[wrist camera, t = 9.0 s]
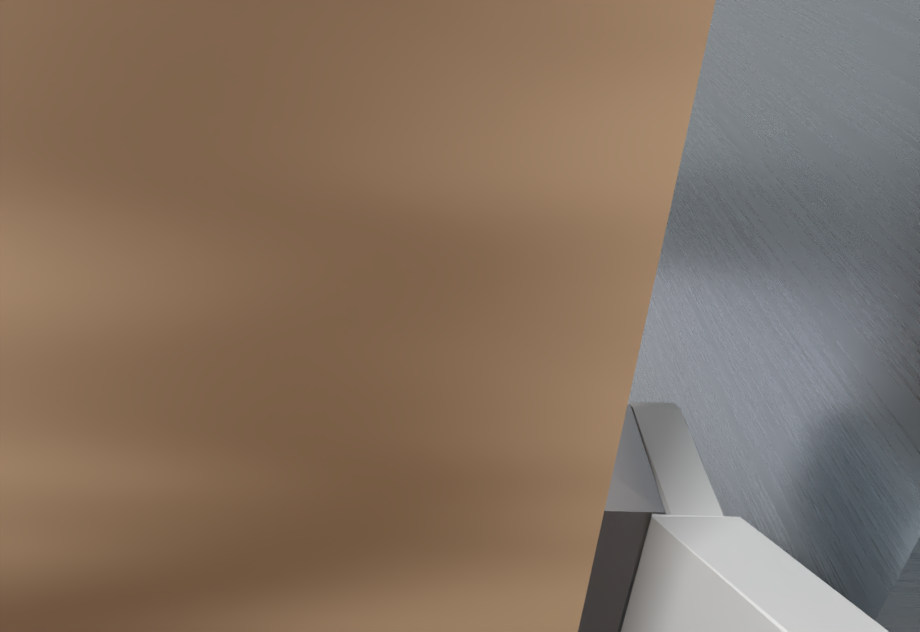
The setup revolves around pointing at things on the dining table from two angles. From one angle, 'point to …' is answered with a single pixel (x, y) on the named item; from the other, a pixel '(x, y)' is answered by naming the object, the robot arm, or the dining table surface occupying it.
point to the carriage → (324, 304)
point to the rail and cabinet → (803, 288)
